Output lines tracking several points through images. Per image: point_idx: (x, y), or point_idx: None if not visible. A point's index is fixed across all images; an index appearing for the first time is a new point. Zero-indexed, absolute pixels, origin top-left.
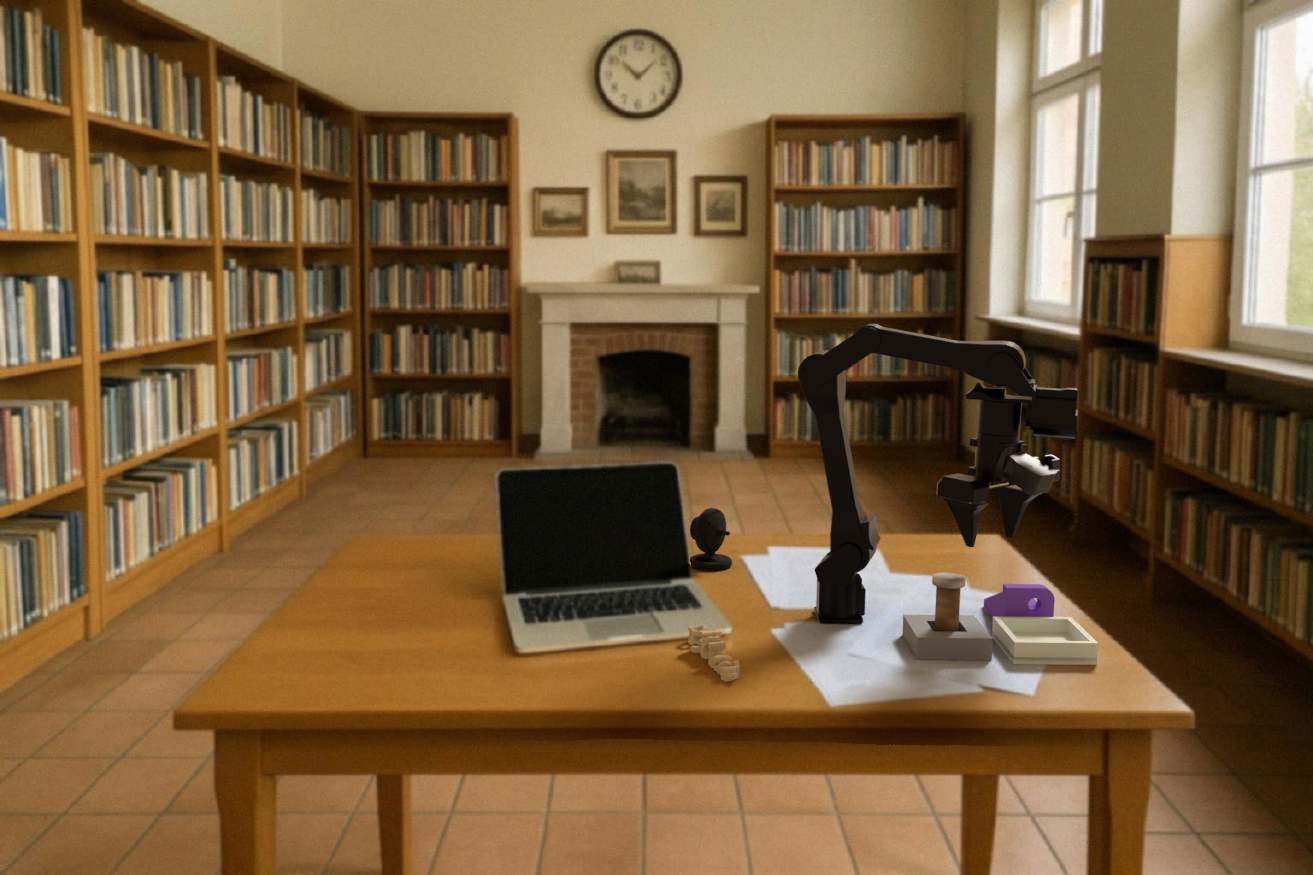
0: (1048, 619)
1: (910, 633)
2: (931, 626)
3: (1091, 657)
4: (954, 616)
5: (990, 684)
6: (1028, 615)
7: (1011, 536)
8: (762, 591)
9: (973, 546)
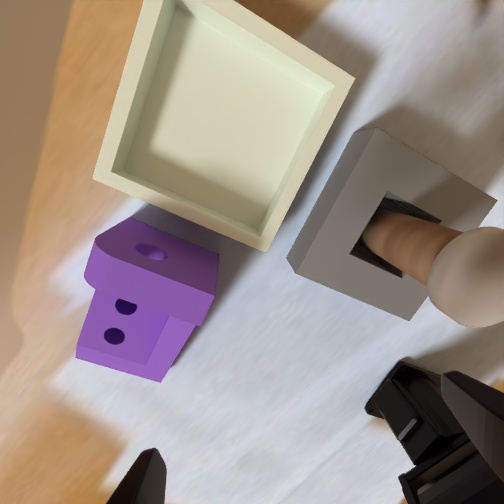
0: (157, 191)
1: None
2: (387, 270)
3: None
4: (420, 219)
5: (461, 9)
6: (170, 247)
7: (154, 455)
8: None
9: (449, 372)
